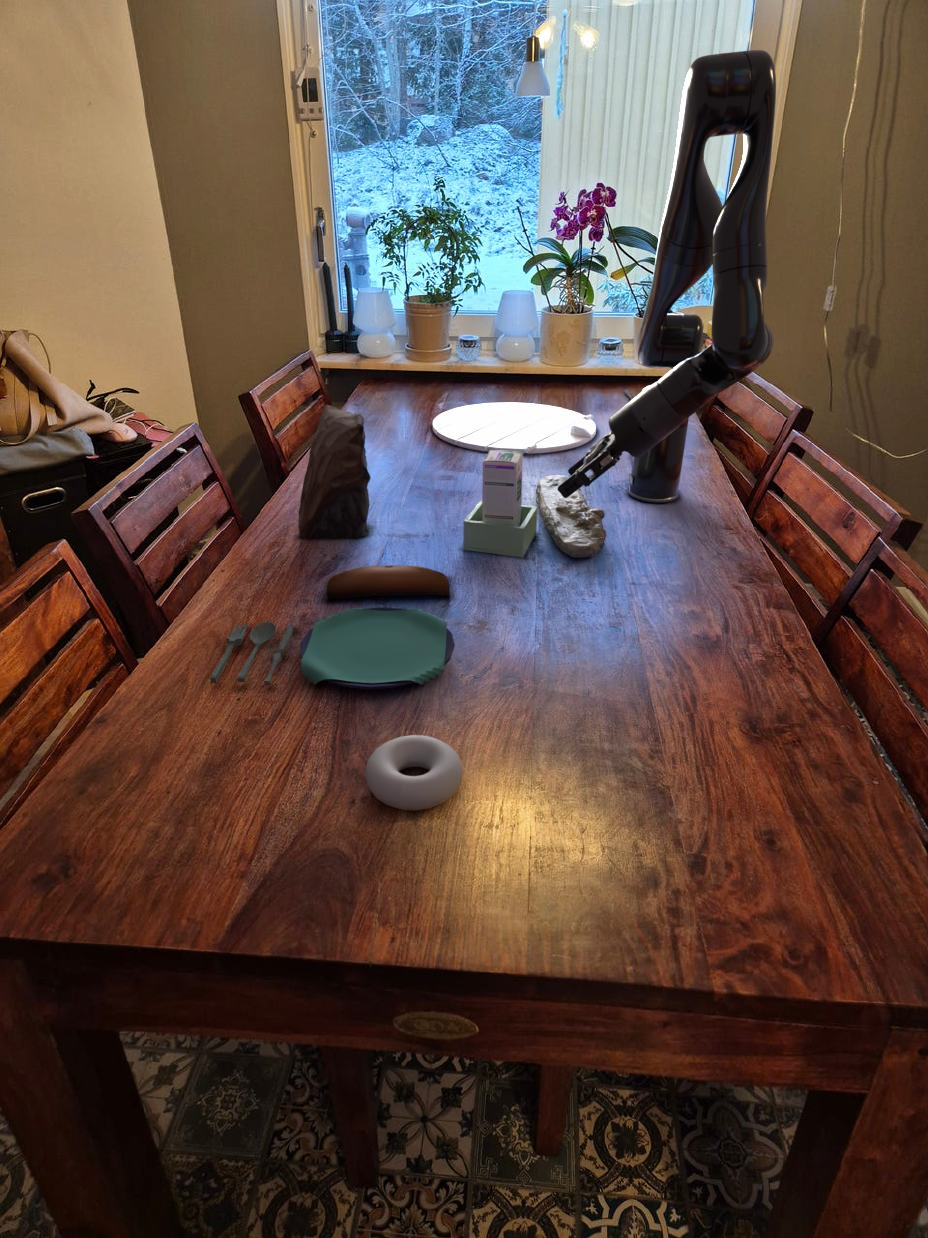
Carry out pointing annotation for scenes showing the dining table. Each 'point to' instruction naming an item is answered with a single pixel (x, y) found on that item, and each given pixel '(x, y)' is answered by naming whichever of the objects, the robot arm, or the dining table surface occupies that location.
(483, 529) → the socket
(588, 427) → the lazy susan
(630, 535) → the dining table surface
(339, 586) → the sunglasses case
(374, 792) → the donut
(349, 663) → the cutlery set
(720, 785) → the dining table surface
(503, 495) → the syrup box
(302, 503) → the dark brown rock
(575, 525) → the elongated rock
